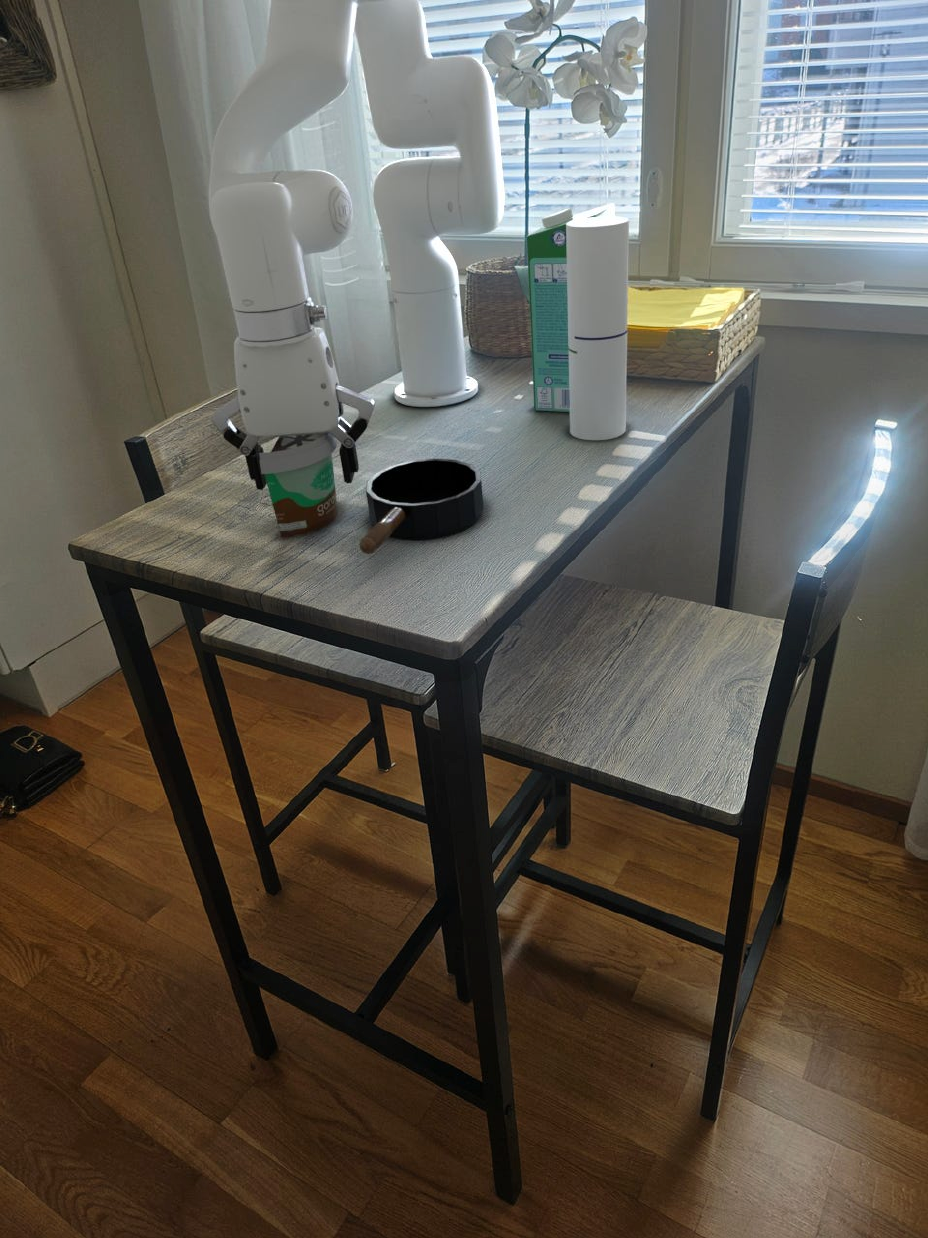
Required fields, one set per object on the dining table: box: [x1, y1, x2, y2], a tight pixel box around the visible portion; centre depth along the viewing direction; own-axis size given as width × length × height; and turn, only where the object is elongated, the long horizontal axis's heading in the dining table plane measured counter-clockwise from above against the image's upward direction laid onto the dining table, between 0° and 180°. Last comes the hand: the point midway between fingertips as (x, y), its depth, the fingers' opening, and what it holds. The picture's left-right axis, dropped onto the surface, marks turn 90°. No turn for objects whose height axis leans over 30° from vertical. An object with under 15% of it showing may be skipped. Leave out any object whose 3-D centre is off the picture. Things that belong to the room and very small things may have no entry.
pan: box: [359, 458, 485, 555], centre depth 92 cm, size 21×12×4 cm, turn 159°
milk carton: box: [526, 203, 615, 413], centre depth 118 cm, size 9×9×25 cm
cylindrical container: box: [566, 215, 630, 441], centre depth 107 cm, size 7×7×25 cm
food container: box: [259, 432, 339, 538], centre depth 96 cm, size 12×6×10 cm, turn 172°
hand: (306, 481), depth 96 cm, fingers open, 9 cm apart
